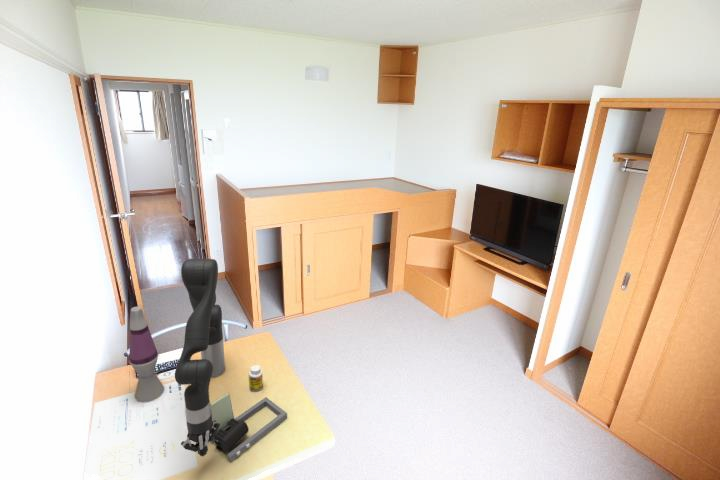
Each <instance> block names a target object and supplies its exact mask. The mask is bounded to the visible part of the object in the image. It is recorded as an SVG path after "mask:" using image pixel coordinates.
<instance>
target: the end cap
mask: <svg viewBox="0 0 720 480" xmlns="http://www.w3.org/2000/svg"><path fill="white" fill-rule="evenodd" d="M227 425H229V426H231V428H230V430H228V431H224V430H222V429H220V430H219V431H218V432H217V433H216V434H215V436H214V439H215V440H217V441H215V442H214V445H215V449H217V450H218V451H220V452H222V453H224V454H228V453H230V452H231V451H232V450H233V449H234V447H236V445H237V444H238V443H239V442H240V441H241V440H242V439H243V438H244V437H245V436H246V435H247V434H248V433H249V426H248V424H247V423H246V422H245V421H243V420H241V421H240V422H239V421H237V420H235V418H234V419H233V418H232V419H231V420H230V421H229V422H227Z"/></svg>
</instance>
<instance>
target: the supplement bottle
mask: <svg viewBox="0 0 720 480" xmlns="http://www.w3.org/2000/svg"><path fill="white" fill-rule="evenodd" d="M248 384H249V390H250V391H251V392H259V391H261V389H263V385H264V384H263V370H262V368H261V366H260V365H258V364H256V365H252V366H251V367H250V370H249V372H248Z"/></svg>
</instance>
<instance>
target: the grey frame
mask: <svg viewBox="0 0 720 480" xmlns="http://www.w3.org/2000/svg"><path fill="white" fill-rule="evenodd" d="M265 407H266V408H268V409H269V410H270V411H271V412H273V413H274V414H275V415H276V417H274V418H273V419H271V420H270V421H269V422H268V423H266V424H265V425H264V426H262V427H261V428H259V430H258V431H256V432H255V433H253V434H252V435H251V436H249V437H248V438H247V439H245V440H244V441H242V442H241V443H240V444H239V445H238V446H237V447H236V446H235V448H233V449H231V450H230V451H229V452H228V453H226V455H227V461H228V462H229V463H232V462H233V461H234V460H236V459H237V458H239V456H242V454H243V453H245V452H246V451H247V450H248V449H250V448H251V447H252V446H253V445H255V444H256V443H257V442H258V441H259V440H261V439H262V438H264V437H265V436H266V435H268V433H270V432H271V431H273V429H275V428H277V427H278V426H279V425H280V424H282V422H284V421H285V420H286V419H287V418H288V412H286V410H284V409H282V408H281V407H280V406H278V405H277V404H276V403H275V402H273V401H272V400H271V399H269V398H268V397H267V396H265V397H264V398H262V399H261V400H260V401H258V402H256V403H255V404H254V405H252V406H251V407H249V408H248V409H247V410H245V411H244V412H242V413H241V414H239V415H238V416H237V417H234V419H235V420H237V421H239V422H240V421H241V420H243V421H244V422H245V421H246V420H248V419H249V418H251V417H252V416H254V415H256V414H257V413H258V412H259V411H261V410H262V409H263V408H265ZM230 428H231V426H229V425H228V426H226V427H225V428H224V429H222V430H224V431H228V430H230ZM215 441H217V440H215V439H214V438H213V440H212V441H209V442H210V444H211V445H213V444H215ZM217 442H218V441H217Z"/></svg>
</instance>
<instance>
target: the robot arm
mask: <svg viewBox="0 0 720 480" xmlns="http://www.w3.org/2000/svg"><path fill="white" fill-rule="evenodd" d="M180 272H181V273H180V274H181V279H182V283H183V286H184V287H185V289H186V291H187V293H188V297H189V298H188V299H189V303H190V305H191V308H192V310H193V311H192V313H191V314H190V316H189V317H188V319H187V321H186V324H185V331H184V342H183V348H182V351H181V354H180V357H179V360H178V363H177V365H176V367H175V371H174V379H175V381H176V383H177V384H178V385H180V386H181V385H183V386H186V385H188V386H186V388H185V389H184V393H183V396H184V397H183V398H184V406H185V411H184V412H185V414H184V415H185V420H186V421H185V422H186V427H187V428H186V429H187V434H186V439H185V440H183V441H182V442H180V445H181V446H182V447H183V449H185V450H187V451H191V452H194V453H195V452H196V453H197V454H198V455H199V456H200V457H205V456H206V455H207V454H208V451H209V446H208V445H209V442H210V441H212V440H213V438H214V436H215V434H216V432H217V430H218V428H219V426H220V424H219V423H218V422H217V421H216V420H214V421H212V412H211V404H212V403H211V401H210V390H209V389H210V384H211V383H210V382H211V379H212V378H217V377H220V376H222V375H223V374H224V373H225V371H226V361H225V346H224V335H223V312H222V307H221V305H220V304H216V302H217V293H216V289H217V283H218V276H219V265H218V261H217V260H216V259H214V258H188V259H185V261H183V263H182V266H181V269H180ZM197 353H200V355H201V356H200V357H201V359H191V358H192V357H193V355H195V354H197ZM211 433H212V434H211ZM210 434H211V436H210ZM192 442H194V443H195V444H194V443H192Z"/></svg>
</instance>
